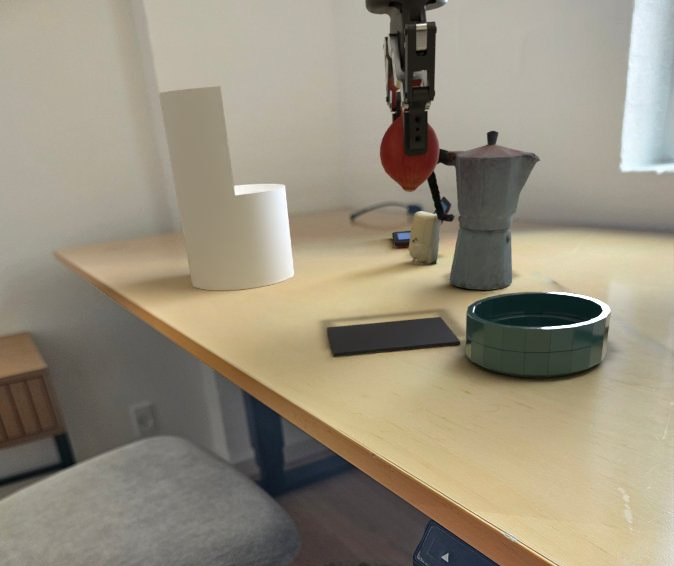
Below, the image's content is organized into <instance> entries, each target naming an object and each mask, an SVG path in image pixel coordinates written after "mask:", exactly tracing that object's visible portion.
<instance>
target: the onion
mask: <svg viewBox="0 0 674 566" xmlns="http://www.w3.org/2000/svg"><path fill="white" fill-rule="evenodd" d="M400 109H401V111H402V112H401V116H400V117H398V118H397V119H396V120H395V121H394V122H393V123H392V122H391V124H390V125H389V126H388V128H387V129H386V131H384V134H383V136H382V139H381V142H380V146H379V159H380V164H381V166H382V168H383V170H384V173H386V174H387V175H388V176H389V178H390V179H392V180H393V181H394V182H395V183H396V184H398V186H400V187H401V189H402V190H403V191H405V192H407V193H413V192H415V191H416V190H417V189H418V188H419V187H420V186H421V185H423V184H424V183H425V182H427V179H428V178H429V176H430V175H431V174H432V172H433V171H434V172H435V169H436V167H437V165H438V164H437V162H438V159H439V151H440V150H439V149H440V141H439V138H438V135H437V134H436V131H435V129H434V128H433V127H432V126H431V124H430V123H429V122H428V151H427V153H426V154H425V155H417V156H407V155H405V153H404V145H403V113H405V112H407V111H403V110H402V107H401V108H400Z"/></svg>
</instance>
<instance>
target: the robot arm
mask: <svg viewBox="0 0 674 566" xmlns="http://www.w3.org/2000/svg"><path fill="white" fill-rule="evenodd" d="M448 1H449V0H365V2H364V4H365V8H366V10H367V11H368V12H369V13H370V14H374V15H387V16H388V18H389V33H388V34H387V36H384V37H383V44H382V50H383V55H384V73H385V80H384V81H385V88H386V89H385V91H386V93H385V94H386V96H385V102H386V106H387V107H388V109H389V112H390V113H391V124H392V123H393V122H394V121H395V120H396V119H397V118H398V117H400V116H401V112H402V111H401V109H400V108H401V107H402V110H403V111H407V112H405V113H403V145H404V153H405V155H407V156H417V155H425V154H426V153H427V151H428V123H429V122H428V121H429V119H428V118H429V112H428V110H430V108H431V105H432V102H434V100H435V96H436V90H435V89H436V88H435V86H436V85H435V84H436V50H437V49H436V47H437V45H436V44H437V41H436V40H437V32H438V28H437V27H438V26H437V24H436V21H428V20H427V11H433V10H436V9H439V8H442V7H444V6H445V5H446V4H447V3H448Z"/></svg>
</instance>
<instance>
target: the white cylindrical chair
mask: <svg viewBox="0 0 674 566" xmlns="http://www.w3.org/2000/svg"><path fill="white" fill-rule="evenodd" d="M158 97H159V103H160V108H161V114H162V115H161V116H162V120H163V126H164V131H165V138H166V144H167V149H168V155H169V160H170V167H171V171H172V177H173V178H172V179H173V183H174V189H175V194H176V200H177V207H178V211H179V212H178V213H179V218H180V224H181V229H182V235H183V242H184V247H185V252H186V258H187V265H188V270H189V276H190V281H191V285H192V286H193V287H194V288H197V289H199V290H206V291H239V290H249V289H256V288H263V287H266V286H271V285H275V284H279V283H282V282H284V281H287V280H289V279H291V278H292V277H293V276H295V270H294V259H293V250H292V240H291V230H290V220H289V210H288V201H287V191H286V190H287V189H286V184H282V183H250V184H236V185H235V184H234V176H233V169H232V162H231V161H232V160H231V154H230V146H229V140H228V132H227V123H226V117H225V110H224V104H223V96H222V88H221V85H219V86H217V85H216V86H206V87H194V88H184V89H176V90H169V91H162V92H158Z"/></svg>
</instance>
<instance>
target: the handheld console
mask: <svg viewBox="0 0 674 566" xmlns="http://www.w3.org/2000/svg"><path fill="white" fill-rule="evenodd" d="M440 202H441V204H442V206H443V209H444V212H445V213H446V214H449V212H450V211H451V209H452V203H451V202H450V201H449V199H447V197H446V196H442V197H441V201H440ZM432 214H437V213H436V209H434V211H433V213H432ZM443 223H444V221H443V220H441V226H442V224H443ZM410 233H411V230H404V231H403V230H402V231H401V230H400V231H394V232H392V233H391V237H392V241H393V245H394V247H395V248H398V249H402V248H403V249H404V248H409V243H410Z"/></svg>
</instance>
